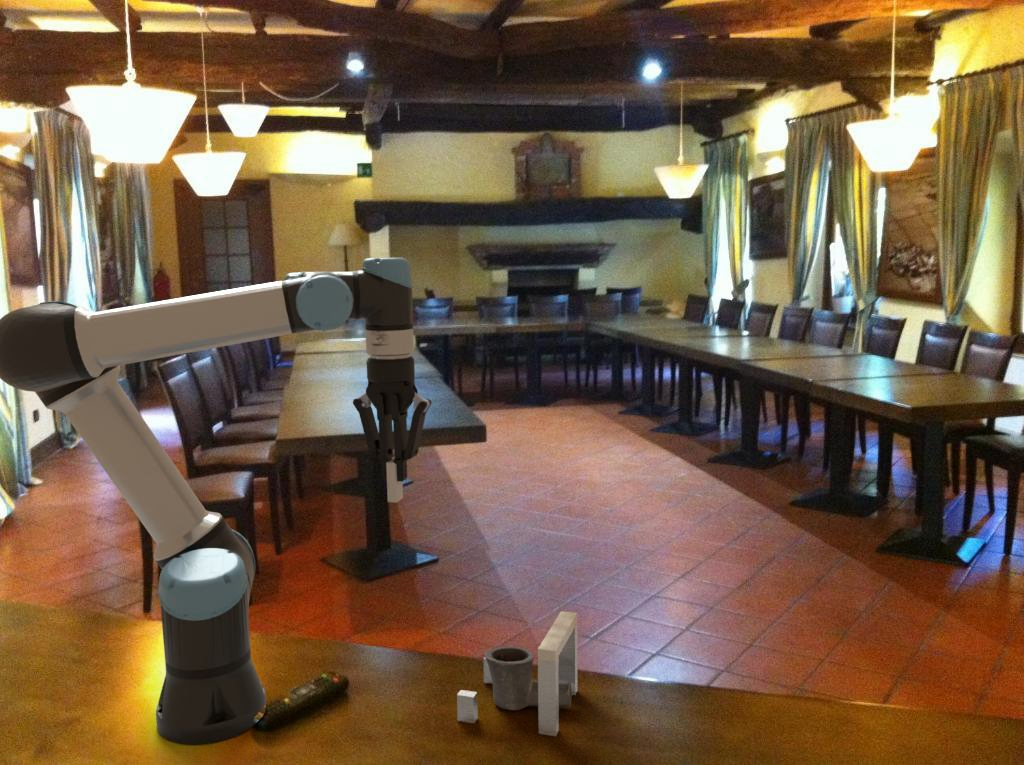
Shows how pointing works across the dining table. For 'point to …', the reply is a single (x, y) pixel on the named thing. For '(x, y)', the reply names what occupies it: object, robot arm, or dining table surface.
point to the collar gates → (540, 675)
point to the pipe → (518, 679)
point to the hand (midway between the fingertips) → (395, 499)
